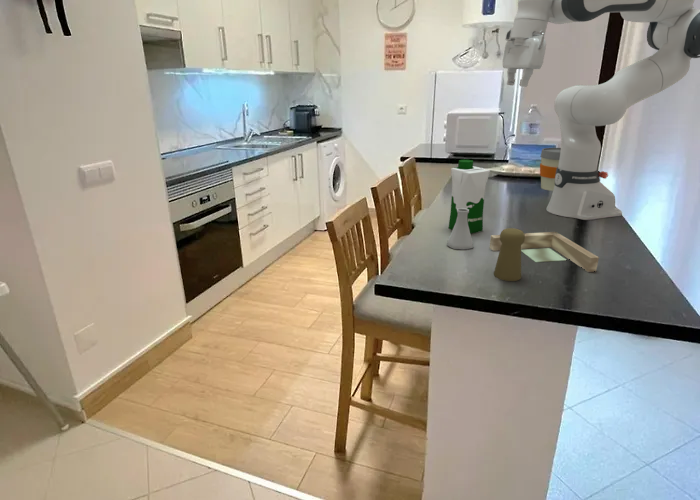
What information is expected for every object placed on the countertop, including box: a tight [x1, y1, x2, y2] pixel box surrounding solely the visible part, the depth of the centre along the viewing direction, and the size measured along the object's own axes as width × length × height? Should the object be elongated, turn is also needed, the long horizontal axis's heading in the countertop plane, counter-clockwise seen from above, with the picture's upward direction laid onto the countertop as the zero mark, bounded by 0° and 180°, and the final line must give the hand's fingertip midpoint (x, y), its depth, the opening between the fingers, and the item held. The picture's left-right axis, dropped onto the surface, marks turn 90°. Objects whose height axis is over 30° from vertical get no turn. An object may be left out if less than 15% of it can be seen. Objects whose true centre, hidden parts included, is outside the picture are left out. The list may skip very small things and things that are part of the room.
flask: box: [446, 208, 474, 250], centre depth 118 cm, size 7×7×10 cm
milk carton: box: [447, 159, 491, 235], centre depth 128 cm, size 9×9×20 cm
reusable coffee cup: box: [539, 147, 561, 192], centre depth 174 cm, size 12×13×15 cm
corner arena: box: [489, 231, 600, 273], centre depth 110 cm, size 18×18×4 cm
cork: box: [493, 227, 525, 282], centre depth 100 cm, size 6×6×11 cm
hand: (516, 85), depth 129 cm, fingers open, 8 cm apart
